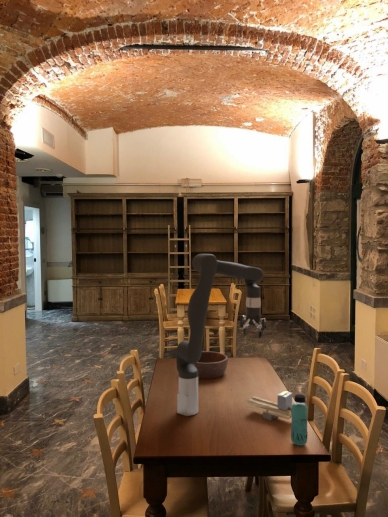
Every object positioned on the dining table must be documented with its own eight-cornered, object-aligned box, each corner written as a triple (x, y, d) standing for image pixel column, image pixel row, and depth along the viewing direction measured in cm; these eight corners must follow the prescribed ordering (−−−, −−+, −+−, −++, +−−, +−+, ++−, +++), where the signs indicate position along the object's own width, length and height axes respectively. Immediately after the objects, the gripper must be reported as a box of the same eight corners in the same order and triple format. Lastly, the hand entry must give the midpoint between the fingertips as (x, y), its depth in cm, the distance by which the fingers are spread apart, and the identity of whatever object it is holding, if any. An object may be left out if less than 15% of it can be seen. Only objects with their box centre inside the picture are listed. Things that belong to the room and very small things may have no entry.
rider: (285, 414, 182) (285, 396, 182) (277, 412, 185) (277, 394, 184) (291, 410, 187) (292, 392, 187) (283, 407, 190) (283, 390, 189)
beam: (288, 426, 181) (288, 412, 181) (246, 413, 195) (246, 400, 194) (295, 421, 187) (295, 407, 186) (254, 408, 200) (254, 395, 200)
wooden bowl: (179, 377, 244) (179, 360, 243) (195, 365, 267) (195, 349, 266) (219, 383, 234) (219, 365, 233) (233, 370, 257) (233, 353, 256)
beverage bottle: (287, 444, 166) (287, 395, 165) (296, 439, 170) (297, 391, 169) (301, 450, 161) (302, 400, 160) (310, 444, 166) (311, 395, 165)
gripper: (237, 305, 218) (237, 336, 219) (262, 308, 209) (261, 340, 210) (245, 303, 224) (244, 333, 225) (269, 306, 215) (268, 337, 216)
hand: (252, 336), depth 218 cm, fingers open, 8 cm apart
